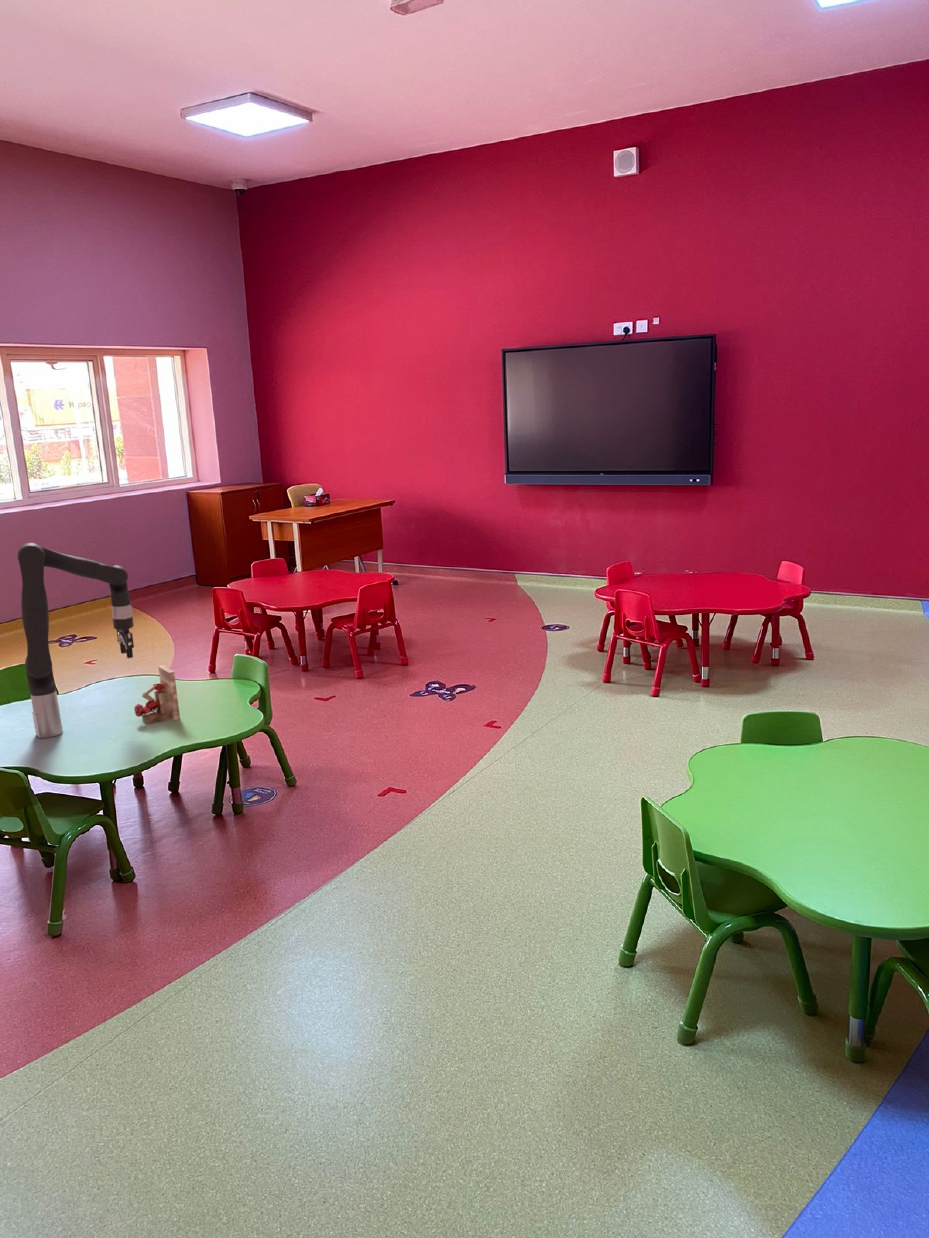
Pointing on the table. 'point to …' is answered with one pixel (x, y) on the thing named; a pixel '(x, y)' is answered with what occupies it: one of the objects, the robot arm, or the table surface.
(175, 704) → the board
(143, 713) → the toy fire truck
